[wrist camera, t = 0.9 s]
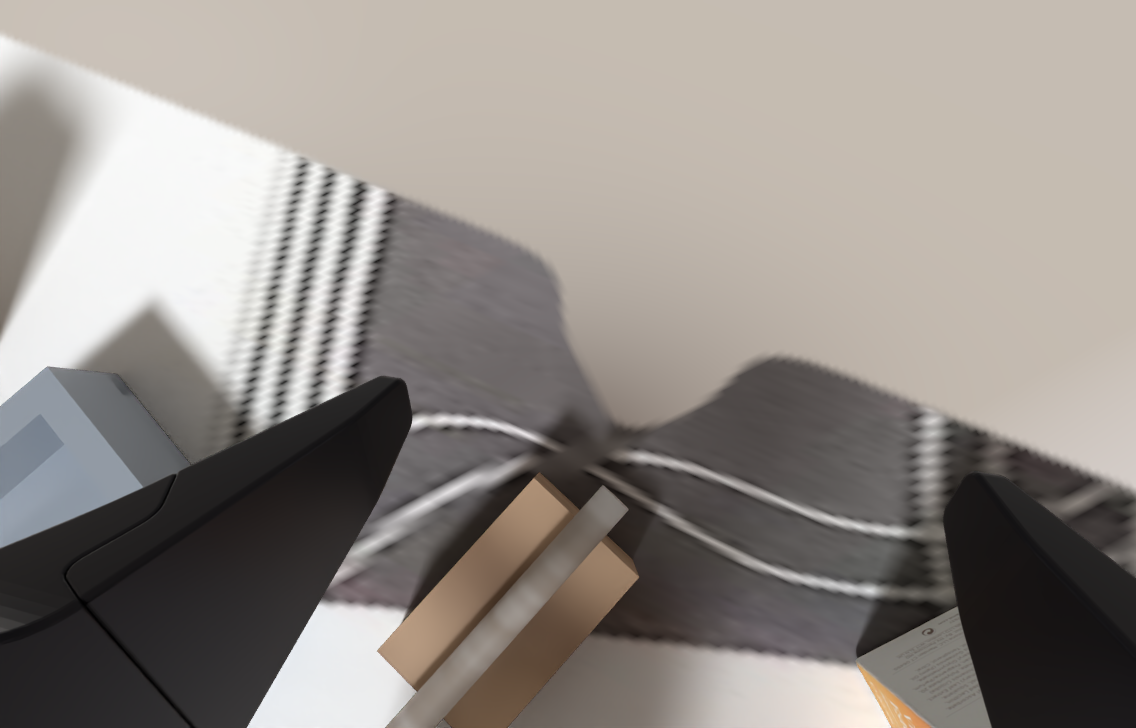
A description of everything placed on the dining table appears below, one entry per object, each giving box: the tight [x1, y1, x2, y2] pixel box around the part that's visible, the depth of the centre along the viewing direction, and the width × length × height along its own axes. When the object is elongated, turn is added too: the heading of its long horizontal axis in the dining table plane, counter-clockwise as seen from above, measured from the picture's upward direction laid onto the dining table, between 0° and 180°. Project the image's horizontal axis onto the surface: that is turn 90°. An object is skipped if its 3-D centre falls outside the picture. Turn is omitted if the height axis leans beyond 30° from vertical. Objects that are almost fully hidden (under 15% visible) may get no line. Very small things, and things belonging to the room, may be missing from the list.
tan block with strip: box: [377, 472, 639, 728], centre depth 20 cm, size 11×5×4 cm, turn 137°
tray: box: [0, 367, 191, 548], centre depth 20 cm, size 12×12×3 cm
